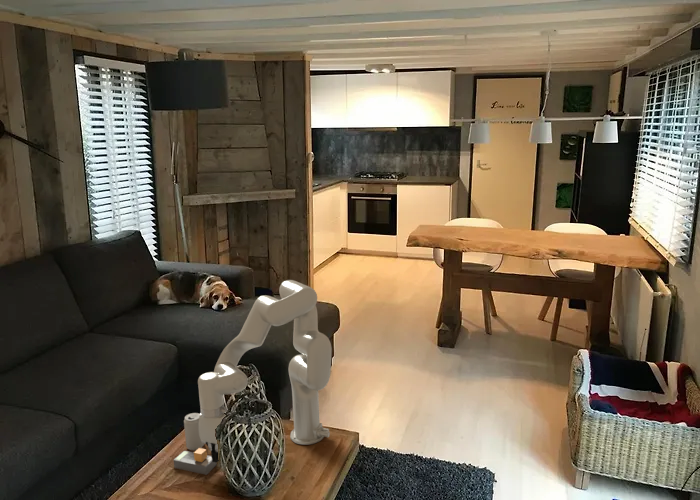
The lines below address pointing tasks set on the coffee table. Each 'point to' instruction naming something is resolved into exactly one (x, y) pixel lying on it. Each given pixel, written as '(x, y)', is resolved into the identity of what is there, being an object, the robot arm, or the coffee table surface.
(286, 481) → the coffee table surface
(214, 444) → the robot arm
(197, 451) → the orange cube
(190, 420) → the beverage can
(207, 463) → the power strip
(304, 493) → the coffee table surface
